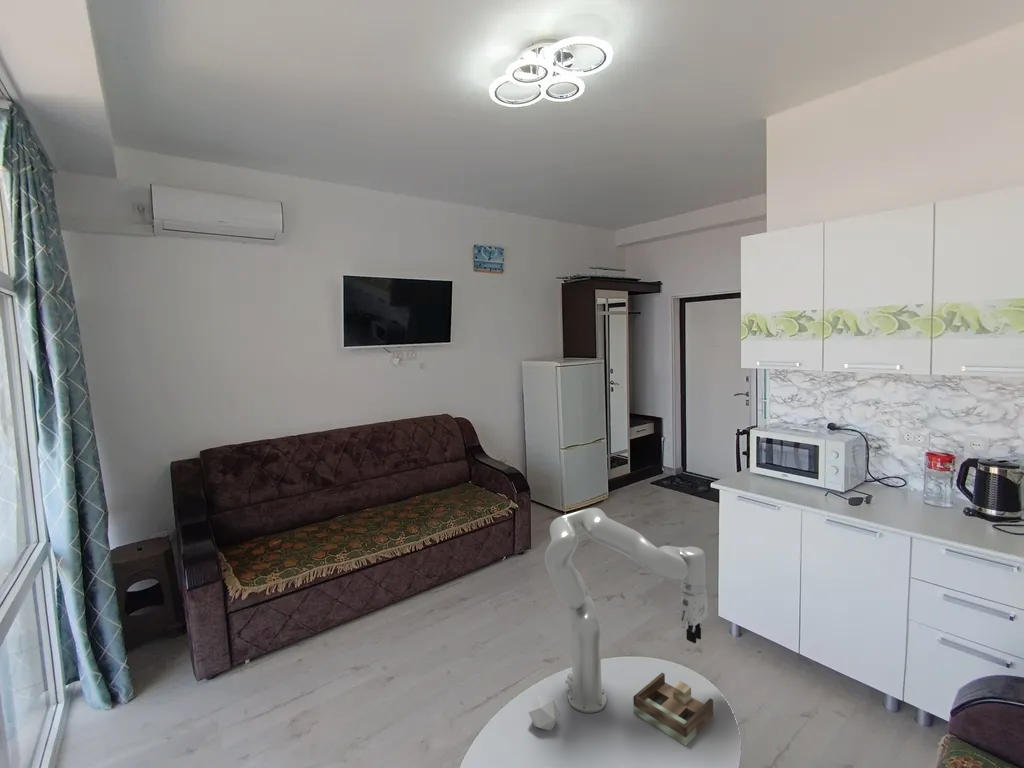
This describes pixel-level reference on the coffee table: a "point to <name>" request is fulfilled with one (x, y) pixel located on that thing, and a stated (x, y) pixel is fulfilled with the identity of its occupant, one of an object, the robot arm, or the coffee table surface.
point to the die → (544, 713)
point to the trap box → (671, 710)
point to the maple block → (682, 692)
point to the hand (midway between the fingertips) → (693, 639)
